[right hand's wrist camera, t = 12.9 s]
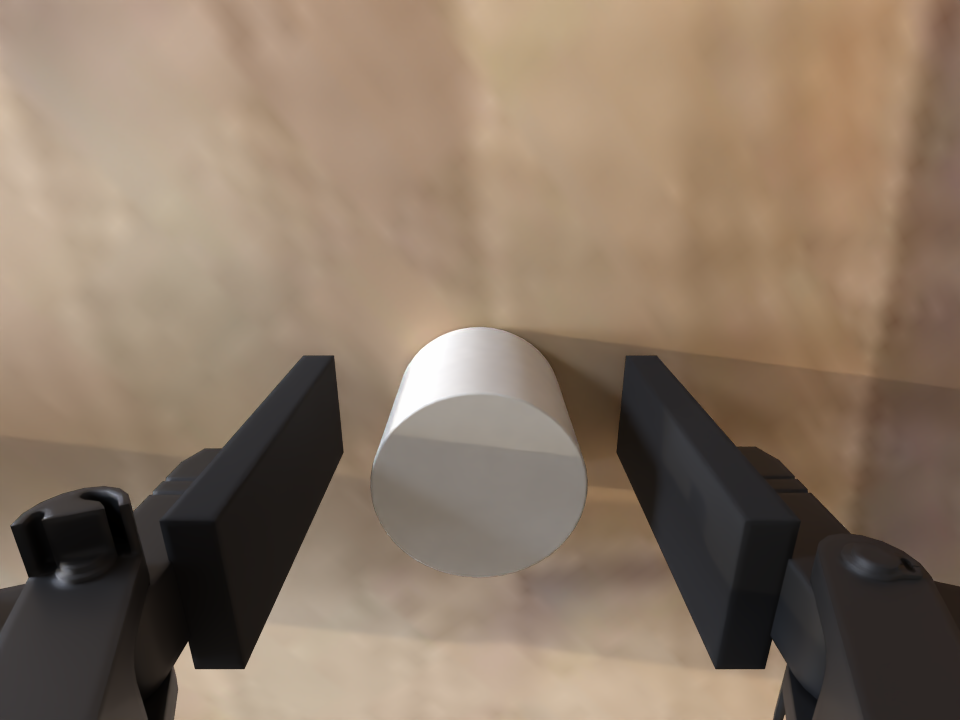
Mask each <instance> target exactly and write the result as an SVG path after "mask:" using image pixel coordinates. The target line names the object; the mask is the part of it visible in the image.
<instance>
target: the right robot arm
mask: <svg viewBox="0 0 960 720" xmlns="http://www.w3.org/2000/svg"><path fill="white" fill-rule="evenodd" d="M342 454H343V442H342V432H341V422H340V412H339V401H338V391H337V381H336V371H335V361H334V356H303V357H302V358H301V359H300V360H299V361H298V362H297V363H296V365H295V366H294V367H293V368H292V369H291V370H290V372H289V373H288V374H287V375H286V376H285V377H284V378H283V380H282V381H281V382H280V383H279V384H278V385H277V386H276V388H275V389H274V390H273V391H272V392H271V393H270V394H269V396H268V397H267V398H266V399H265V400H264V401H263V402H262V404H261V405H260V406H259V407H258V408H257V409H256V410H255V412H254V413H253V414H252V415H251V416H250V417H249V418H248V420H247V421H246V422H245V423H244V424H243V425H242V426H241V428H240V429H239V430H238V431H237V432H236V433H235V434H234V436H233V437H232V438H231V439H230V440H229V441H228V442H227V444H226V445H225V446H224V447H223V448H222V449H203V450H202V451H200V452H198V453H196V454H195V455H193V456H191V457H189V458H188V459H186V460H184V461H182V462H181V463H180V464H179V465H178V466H177V467H176V468H175V469H174V470H173V471H172V472H171V473H170V474H169V475H168V476H167V477H166V481H163V482H162V483H161V484H160V485H159V486H158V487H157V488H156V489H155V490H154V491H153V495H149V496H148V497H147V498H146V499H145V500H144V501H143V502H142V503H141V504H140V505H139V506H138V507H137V508H136V509H135V511H134V512H133V510H132V506H131V502H130V499H129V495H128V494H127V493H126V492H124V491H123V490H121V489H120V488H113V487H107V486H101V487H90V488H83V489H79V490H75V491H71V492H67V493H63V494H60V495H58V496H55V497H53V498H51V499H48V500H46V501H43V502H41V503H39V504H38V505H36V506H34V507H33V508H31V509H29V510H28V511H26V512H24V513H23V514H22V515H21V516H20V517H19V518H18V519H17V520H16V521H15V522H14V523H13V524H12V525H11V526H10V527H11V529H12V532H13V535H14V538H15V540H16V543H17V546H18V549H19V552H20V554H21V557H22V560H23V563H24V566H25V568H26V571H27V574H28V577H29V578H28V580H27V582H26V584H23V585H18V586H13V587H8V588H4V589H0V720H174V715H175V708H176V701H177V693H178V685H177V678H176V674H175V670H174V664H175V662H176V661H177V659H178V657H179V656H180V654H181V652H182V651H183V649H184V647H185V646H186V644H187V642H189V646H190V650H191V654H192V658H193V662H194V667H195V669H245V667H246V665H247V662H248V660H249V658H250V656H251V654H252V651H253V649H254V647H255V645H256V643H257V640H258V638H259V636H260V634H261V632H262V630H263V627H264V625H265V623H266V621H267V619H268V616H269V614H270V612H271V610H272V608H273V605H274V603H275V601H276V599H277V597H278V595H279V592H280V590H281V588H282V586H283V584H284V581H285V579H286V577H287V575H288V573H289V570H290V568H291V566H292V564H293V562H294V560H295V557H296V555H297V553H298V551H299V549H300V546H301V544H302V542H303V540H304V538H305V535H306V533H307V531H308V529H309V527H310V525H311V522H312V520H313V518H314V516H315V514H316V511H317V509H318V507H319V505H320V503H321V500H322V498H323V496H324V494H325V492H326V490H327V487H328V485H329V483H330V481H331V479H332V476H333V474H334V472H335V470H336V468H337V465H338V463H339V461H340V459H341V457H342ZM617 455H618V457H619V459H620V461H621V463H622V465H623V468H624V470H625V472H626V474H627V476H628V479H629V481H630V483H631V485H632V487H633V490H634V492H635V494H636V496H637V498H638V500H639V503H640V505H641V507H642V509H643V511H644V514H645V516H646V518H647V520H648V522H649V525H650V527H651V529H652V531H653V533H654V535H655V538H656V540H657V542H658V544H659V546H660V549H661V551H662V553H663V555H664V557H665V560H666V562H667V564H668V566H669V568H670V570H671V573H672V575H673V577H674V579H675V581H676V584H677V586H678V588H679V590H680V592H681V595H682V597H683V599H684V601H685V603H686V605H687V608H688V610H689V612H690V614H691V616H692V619H693V621H694V623H695V625H696V627H697V630H698V632H699V634H700V636H701V638H702V640H703V643H704V645H705V647H706V649H707V651H708V654H709V656H710V658H711V660H712V662H713V665H714V667H715V669H765V666H766V662H767V658H768V654H769V650H770V646H771V642H772V639H773V641H774V643H775V644H776V646H777V648H778V649H779V651H780V653H781V654H782V656H783V658H784V659H785V661H786V663H787V666H786V670H785V674H784V678H783V681H782V685H781V689H780V693H779V697H778V701H777V704H776V708H775V712H774V718H773V720H783V718H784V715H785V714H786V720H960V587H959V586H955V585H950V584H945V583H940V582H936V581H933V579H932V577H931V576H930V575H929V573H928V572H927V571H926V570H925V569H924V567H923V566H922V565H921V564H920V563H919V562H917V561H916V560H915V559H913V558H912V557H910V556H909V555H908V554H906V553H905V552H904V551H902V550H899V549H897V548H895V547H893V546H891V545H889V544H887V543H885V542H883V541H879V540H876V539H872V538H869V537H866V536H862V535H854V534H851V533H850V532H849V531H848V530H847V529H846V528H845V527H844V526H843V525H842V524H841V523H840V522H839V521H838V520H837V519H836V518H835V517H834V516H833V515H832V514H831V513H830V512H829V511H828V510H827V509H826V508H825V507H824V506H823V505H822V504H821V503H820V502H819V501H818V500H817V499H816V498H815V497H814V496H813V495H812V493H808V489H807V488H806V487H805V486H804V485H803V484H802V483H801V482H800V481H799V480H798V479H795V476H794V475H793V474H792V473H791V472H790V471H789V470H788V469H787V468H786V467H785V466H784V465H783V464H782V463H781V462H780V461H779V460H778V459H776V458H774V457H773V456H771V455H769V454H767V453H766V452H764V451H762V450H760V449H759V448H757V447H736V446H735V445H734V444H733V442H732V441H731V440H730V439H729V438H728V437H727V436H726V434H725V433H724V432H723V431H722V430H721V429H720V428H719V426H718V425H717V424H716V423H715V422H714V421H713V420H712V418H711V417H710V416H709V415H708V414H707V413H706V412H705V410H704V409H703V408H702V407H701V406H700V405H699V404H698V402H697V401H696V400H695V399H694V398H693V397H692V396H691V394H690V393H689V392H688V391H687V390H686V389H685V388H684V386H683V385H682V384H681V383H680V382H679V381H678V380H677V378H676V377H675V376H674V375H673V374H672V373H671V372H670V370H669V369H668V368H667V367H666V366H665V365H664V364H663V362H662V361H661V360H660V359H659V358H658V357H657V356H626V361H625V371H624V381H623V391H622V401H621V412H620V422H619V432H618V442H617Z"/></svg>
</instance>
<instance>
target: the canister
mask: <svg viewBox="0 0 960 720" xmlns="http://www.w3.org/2000/svg"><path fill="white" fill-rule="evenodd" d="M587 484H588V480H587V472H586V466H585V463H584V459H583V456H582V453H581V450H580V447H579V444H578V441H577V438H576V435H575V432H574V429H573V426H572V423H571V420H570V417H569V414H568V411H567V408H566V405H565V402H564V399H563V396H562V393H561V390H560V387H559V384H558V381H557V378H556V376H555V374H554V371H553V369H552V367H551V366H550V364H549V363H548V361H547V360H546V358H545V357H544V356H543V355H542V354H541V352H540V351H538V350H537V349H536V348H535V347H534V346H533V345H532V344H530V343H529V342H527V341H526V340H524V339H523V338H521V337H519V336H517V335H515V334H512V333H509V332H507V331H504V330H499V329H495V328H486V327H471V328H465V329H459V330H456V331H452V332H449V333H447V334H444V335H442V336H440V337H438V338H436V339H435V340H433V341H431V342H430V343H429V344H427V345H426V346H425V347H424V348H422V349H421V350H420V351H419V352H418V353H417V355H416V356H415V357H414V358H413V359H412V361H411V362H410V364H409V365H408V367H407V369H406V371H405V373H404V375H403V378H402V381H401V384H400V387H399V390H398V393H397V396H396V398H395V401H394V404H393V407H392V410H391V413H390V416H389V419H388V422H387V425H386V427H385V430H384V433H383V436H382V439H381V442H380V445H379V448H378V451H377V453H376V456H375V459H374V462H373V466H372V472H371V487H370V488H371V496H372V502H373V505H374V509H375V512H376V514H377V517H378V519H379V521H380V523H381V525H382V526H383V528H384V530H385V531H386V533H387V534H388V536H389V537H390V538H391V539H392V540H393V542H394V543H395V544H396V545H397V546H398V547H400V548H401V549H402V550H403V551H404V552H405V553H406V554H408V555H409V556H411V557H412V558H413V559H415V560H417V561H418V562H420V563H422V564H424V565H426V566H428V567H430V568H433V569H435V570H438V571H441V572H444V573H448V574H452V575H457V576H463V577H476V578H477V577H494V576H502V575H506V574H510V573H514V572H517V571H520V570H523V569H526V568H528V567H530V566H532V565H534V564H536V563H538V562H540V561H542V560H543V559H545V558H546V557H548V556H549V555H551V554H552V553H553V552H554V551H555V550H557V549H558V548H559V547H560V546H561V545H562V544H563V543H564V542H565V541H566V539H567V538H568V537H569V536H570V534H571V533H572V531H573V530H574V529H575V527H576V525H577V523H578V521H579V519H580V517H581V515H582V512H583V509H584V506H585V502H586V497H587Z"/></svg>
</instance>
